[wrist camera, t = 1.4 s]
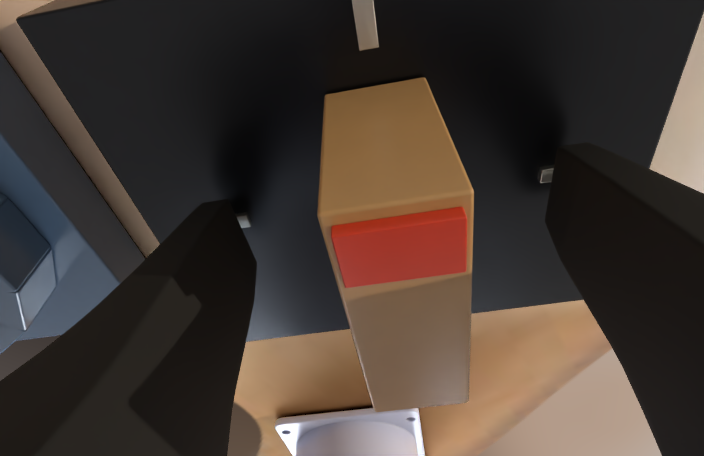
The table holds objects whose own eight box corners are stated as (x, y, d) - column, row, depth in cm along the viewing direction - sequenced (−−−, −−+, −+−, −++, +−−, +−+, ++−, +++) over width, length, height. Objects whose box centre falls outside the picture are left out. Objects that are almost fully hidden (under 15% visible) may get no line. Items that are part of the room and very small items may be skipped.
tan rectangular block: (436, 270, 12) (472, 415, 8) (365, 280, 12) (374, 425, 9) (426, 75, 8) (480, 202, 5) (323, 93, 8) (315, 227, 5)
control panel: (563, 232, 15) (608, 301, 12) (240, 277, 16) (223, 349, 14) (643, -135, 8) (766, -137, 6) (91, -17, 9) (7, 21, 7)
